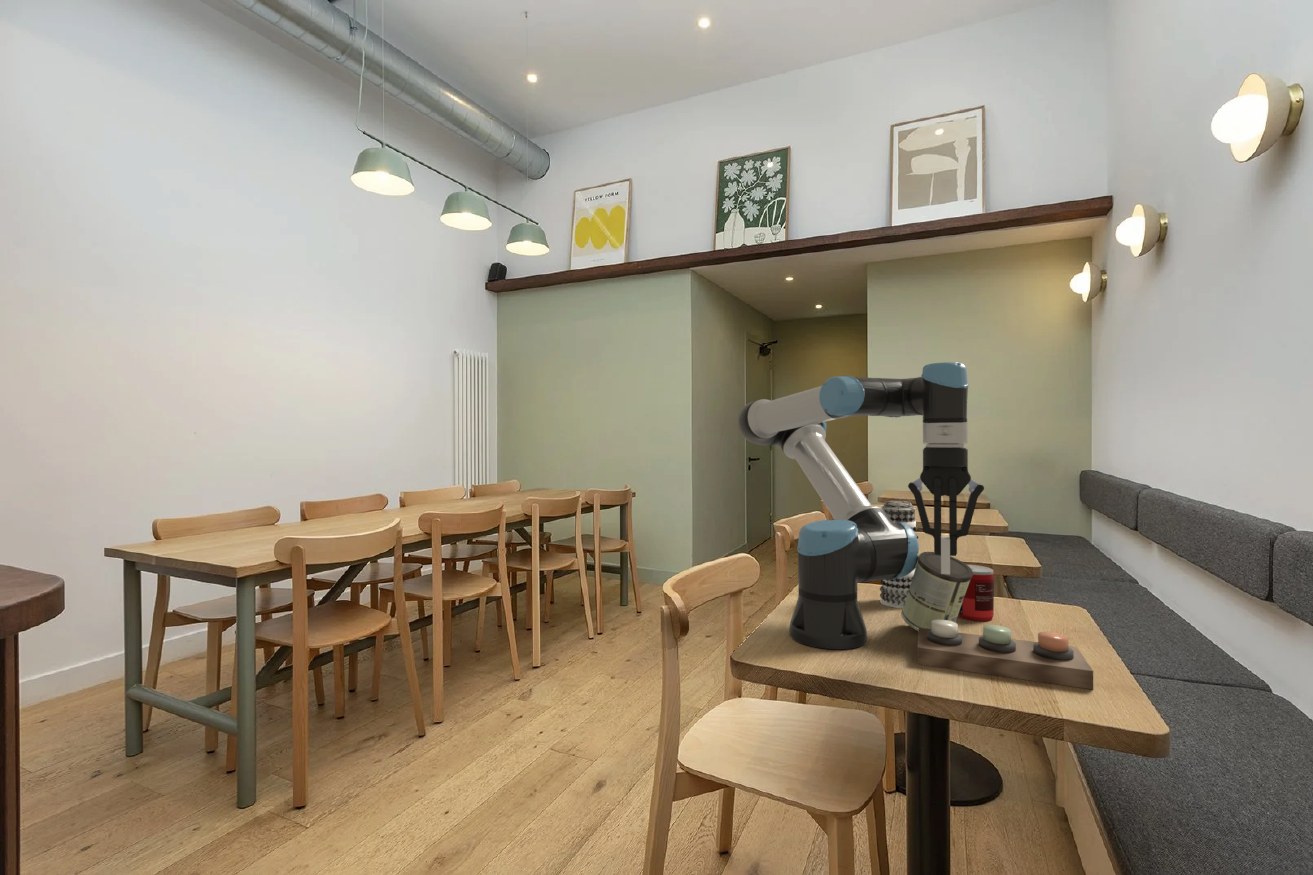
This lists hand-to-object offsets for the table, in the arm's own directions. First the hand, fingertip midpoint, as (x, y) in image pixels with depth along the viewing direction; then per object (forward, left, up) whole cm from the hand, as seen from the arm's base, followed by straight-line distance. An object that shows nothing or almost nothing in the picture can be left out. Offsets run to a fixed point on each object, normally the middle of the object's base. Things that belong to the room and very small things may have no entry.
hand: (945, 572), depth 110 cm
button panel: (+8, 0, -16) cm, 18 cm away
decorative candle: (-10, +34, -16) cm, 39 cm away
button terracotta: (+17, 0, -11) cm, 20 cm away
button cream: (0, 0, -11) cm, 11 cm away
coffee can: (-4, +15, -14) cm, 21 cm away
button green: (+8, 0, -11) cm, 14 cm away
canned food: (+6, +30, -16) cm, 34 cm away
